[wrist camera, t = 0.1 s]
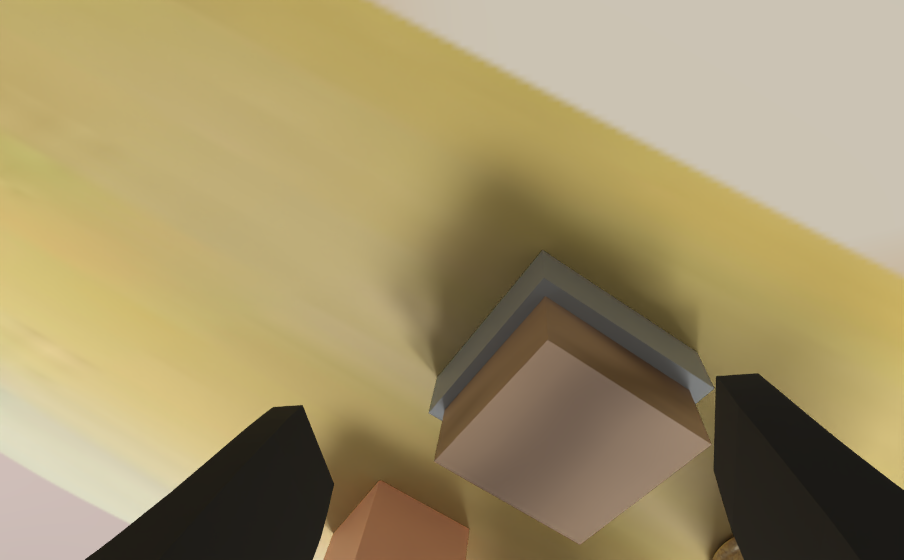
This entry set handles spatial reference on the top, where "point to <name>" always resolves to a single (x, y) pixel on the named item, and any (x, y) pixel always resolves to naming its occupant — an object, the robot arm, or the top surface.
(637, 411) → the tower top
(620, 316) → the tower base
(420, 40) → the top surface
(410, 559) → the block
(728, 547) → the sprinkles bottle
